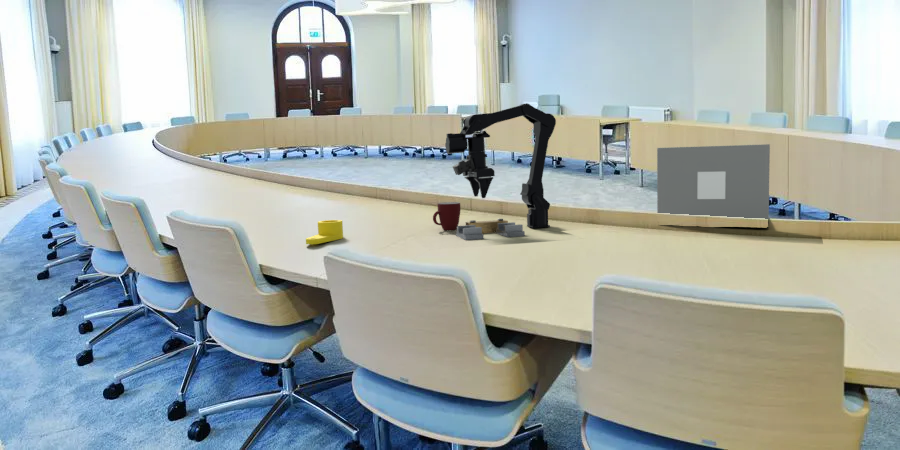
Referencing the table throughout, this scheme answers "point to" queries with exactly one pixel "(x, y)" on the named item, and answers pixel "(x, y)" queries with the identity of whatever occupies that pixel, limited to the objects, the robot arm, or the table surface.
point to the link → (487, 225)
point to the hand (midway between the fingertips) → (479, 197)
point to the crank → (327, 232)
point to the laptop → (714, 180)
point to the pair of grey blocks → (502, 228)
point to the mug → (448, 215)
